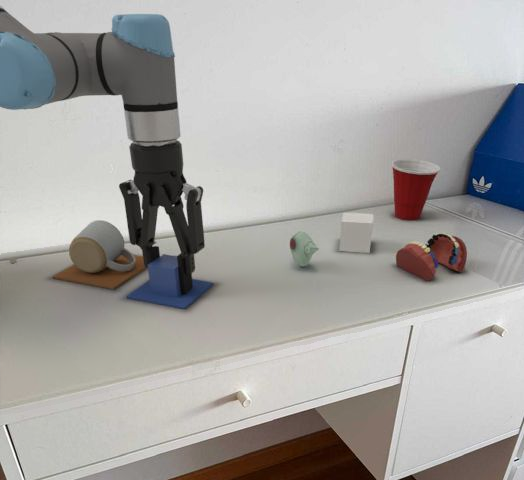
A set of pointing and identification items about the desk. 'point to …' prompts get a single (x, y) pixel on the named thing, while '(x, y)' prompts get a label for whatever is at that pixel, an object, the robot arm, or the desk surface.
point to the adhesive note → (356, 232)
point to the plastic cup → (412, 186)
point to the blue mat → (179, 302)
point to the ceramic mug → (99, 248)
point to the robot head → (302, 248)
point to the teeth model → (432, 255)
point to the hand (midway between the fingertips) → (171, 287)
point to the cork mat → (103, 274)
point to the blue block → (165, 276)
